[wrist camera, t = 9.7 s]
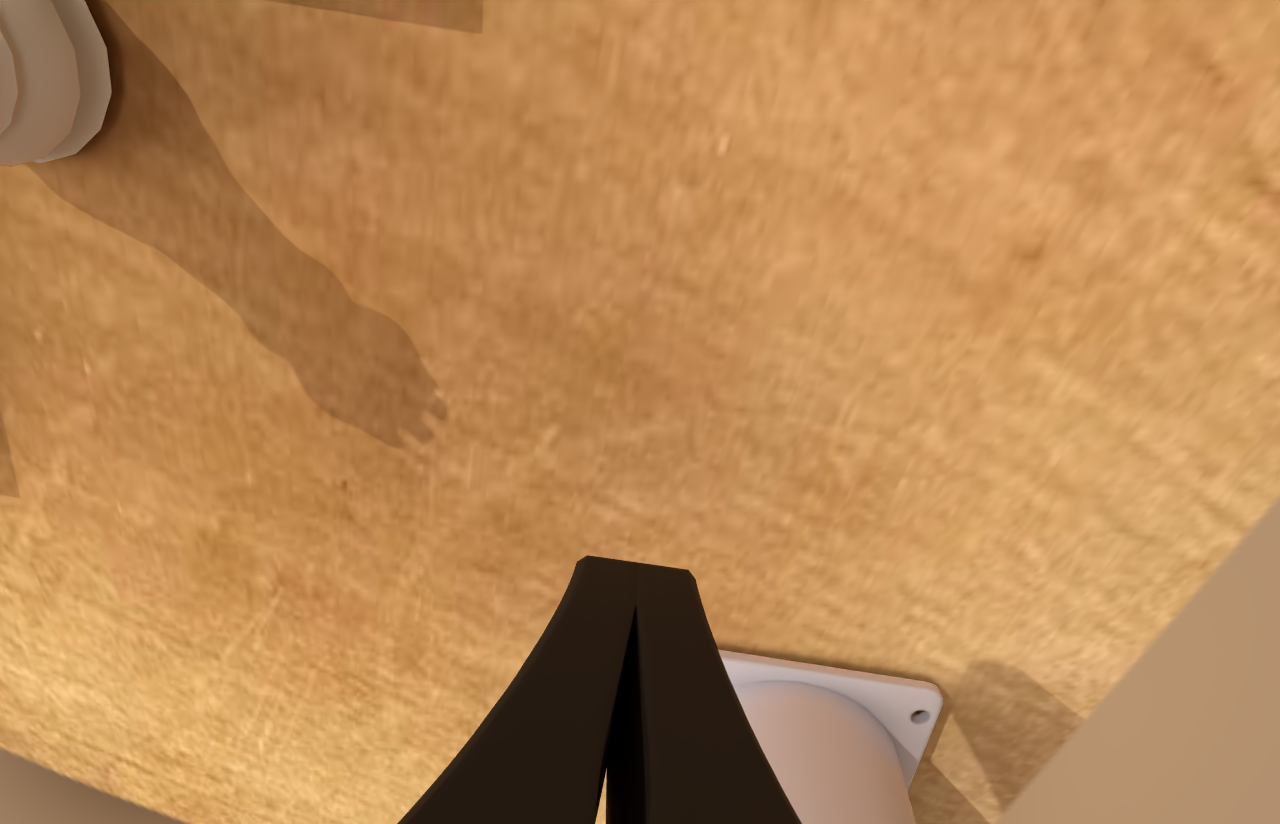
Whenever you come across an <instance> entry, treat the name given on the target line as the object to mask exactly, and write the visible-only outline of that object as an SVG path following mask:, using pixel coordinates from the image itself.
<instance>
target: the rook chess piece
mask: <svg viewBox="0 0 1280 824" xmlns="http://www.w3.org/2000/svg"><path fill="white" fill-rule="evenodd" d="M111 94H112V90H111V81H110V72H109V64H108V55H107V47H106V45H105V43H104V41H103V39H102V37H101V34H100V32H99V30H98V28H97V26H96V24H95V22H94V19H93V17H92V15H91V13H90V11H89V9H88V6H87V4H86V2H85V1H84V0H0V165H2V166H9V167H11V166H15V165H19V164H23V163H26V162H30V161H32V162H37V163H44V162H48V161H51V160H55V159H59V158H63V157H67V156H70V155H74V154H76V153H77V152H78V151H80V150H81V149H82V148H83V147H84V146H85V145H86V144H87V143H88V142H89V141H90V140H91V139H92V138H93V137H94V136H95V135H96V134H97V133H98V132H99V131H100V130H101V127H102V124H103V120H104V117H105V114H106V110H107V107H108V104H109V100H110V97H111Z"/></svg>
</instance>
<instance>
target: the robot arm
mask: <svg viewBox="0 0 1280 824" xmlns="http://www.w3.org/2000/svg"><path fill="white" fill-rule="evenodd" d="M942 706H943V698H942V695H941V692H940V690H939V688H938V687H937V686H936V685H935V684H933V683H930V682H926V681H920V680H913V679H907V678H900V677H894V676H887V675H881V674H874V673H868V672H861V671H855V670H848V669H842V668H835V667H829V666H822V665H816V664H809V663H803V662H796V661H790V660H783V659H777V658H771V657H764V656H758V655H751V654H745V653H738V652H732V651H725V650H719V649H718V648H717V646H716V643H715V640H714V638H713V635H712V632H711V630H710V627H709V624H708V621H707V618H706V615H705V612H704V609H703V606H702V602H701V599H700V595H699V592H698V588H697V584H696V579H695V578H694V577H693V575H692V574H691V573H690V572H689V570H685V569H678V568H671V567H665V566H658V565H651V564H644V563H637V562H630V561H623V560H616V559H609V558H602V557H595V556H588V555H587V556H586V557H584V558H582V559H581V560H579V561H577V563H576V567H575V570H574V573H573V576H572V578H571V581H570V583H569V585H568V588H567V590H566V592H565V594H564V596H563V598H562V600H561V602H560V604H559V606H558V608H557V610H556V611H555V613H554V615H553V617H552V619H551V620H550V622H549V624H548V626H547V627H546V629H545V631H544V633H543V634H542V636H541V637H540V639H539V641H538V642H537V644H536V645H535V647H534V648H533V650H532V652H531V653H530V655H529V656H528V658H527V659H526V661H525V663H524V664H523V666H522V667H521V669H520V670H519V672H518V674H517V675H516V677H515V678H514V679H513V681H512V682H511V684H510V685H509V687H508V688H507V690H506V691H505V692H504V694H503V695H502V696H501V698H500V699H499V700H498V702H497V703H496V704H495V706H494V707H493V708H492V710H491V711H490V712H489V714H488V715H487V717H486V718H485V719H484V721H483V722H482V723H481V725H480V726H479V727H478V729H477V730H476V731H475V733H474V734H473V735H472V737H471V738H470V739H469V741H468V742H467V743H466V744H465V746H464V747H463V748H462V749H461V751H460V752H459V753H458V754H457V756H456V757H455V758H454V759H453V760H452V762H451V763H450V764H449V765H448V767H447V768H446V769H445V770H444V771H443V773H442V774H441V775H440V776H439V777H438V778H437V780H436V781H435V782H434V783H433V784H432V785H431V787H430V788H429V789H428V790H427V791H426V792H425V793H424V795H423V796H422V797H421V798H420V799H419V800H418V801H417V803H416V804H415V805H414V806H413V807H412V808H411V809H410V810H409V812H408V813H407V814H406V815H405V816H404V817H403V818H402V819H401V820H400V821H399V822H398V823H397V824H595V822H596V817H597V812H598V807H599V802H600V797H601V793H602V788H603V783H604V778H605V773H606V768H607V786H606V824H916V822H915V818H914V815H913V811H912V807H911V803H910V800H909V796H908V790H909V787H910V785H911V782H912V780H913V777H914V775H915V772H916V770H917V768H918V765H919V763H920V760H921V758H922V755H923V753H924V750H925V748H926V745H927V743H928V741H929V738H930V736H931V733H932V731H933V728H934V726H935V723H936V721H937V718H938V716H939V714H940V711H941V709H942ZM920 710H923V712H921V713H918V714H914V712H916V711H920Z"/></svg>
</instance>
